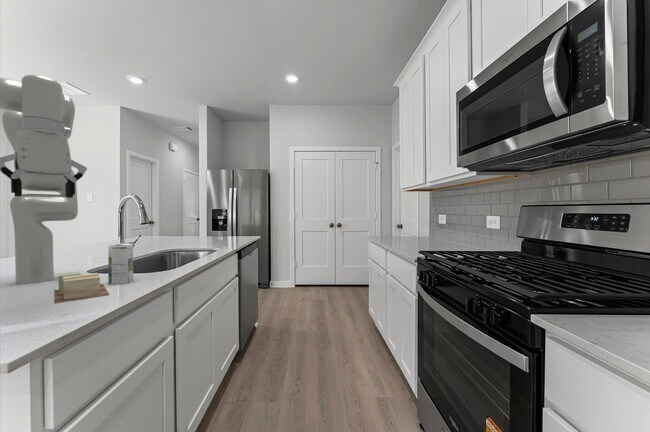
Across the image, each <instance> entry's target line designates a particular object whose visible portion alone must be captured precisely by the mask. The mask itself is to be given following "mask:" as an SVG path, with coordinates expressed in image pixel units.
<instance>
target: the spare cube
mask: <svg viewBox="0 0 650 432" xmlns="http://www.w3.org/2000/svg"><path fill="white" fill-rule="evenodd" d="M57 274H58V275H57V276H58V277H57V278H58V280H57V281H58V290H59V293H63V277H65V276H73V275H81V273H80V271H70V272H61V273H57Z"/></svg>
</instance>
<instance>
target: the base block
mask: <svg viewBox="0 0 650 432" xmlns="http://www.w3.org/2000/svg"><path fill="white" fill-rule="evenodd" d="M100 284H101V277H100V275H99V274H98V272H93V273H84V274H80V275H73V276H65V277H63V296H64V300H65V299H71V298H78V297H84V296H91V295H98V294H100Z"/></svg>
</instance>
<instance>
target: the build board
mask: <svg viewBox="0 0 650 432" xmlns="http://www.w3.org/2000/svg"><path fill="white" fill-rule="evenodd" d="M53 293H54V294H53V305H54V304H55V305H56V304H61V303H68V302H75V301H79V300H80V301H82V300H87V299H93V298H99V297H101V298H102V297H106V296H107V297H108V296H110V293H109V291H108V290H107V289H106V287H105V285H104V284H103V283H100V294H98V295H91V296H84V297H78V298H71V299H65V300H64V296H63V293H59V289H54V291H53Z"/></svg>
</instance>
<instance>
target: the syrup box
mask: <svg viewBox="0 0 650 432" xmlns="http://www.w3.org/2000/svg"><path fill="white" fill-rule="evenodd" d="M107 262H108V267H107V268H108V275H107V276H108V278H107V279H108V286H113V285H115V286H116V285H127V284H130V283H131V282H133V281H134V243H126V242H125V243H122V242H121V243H115V244H112V245H111V244H110V245H108V261H107Z"/></svg>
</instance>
